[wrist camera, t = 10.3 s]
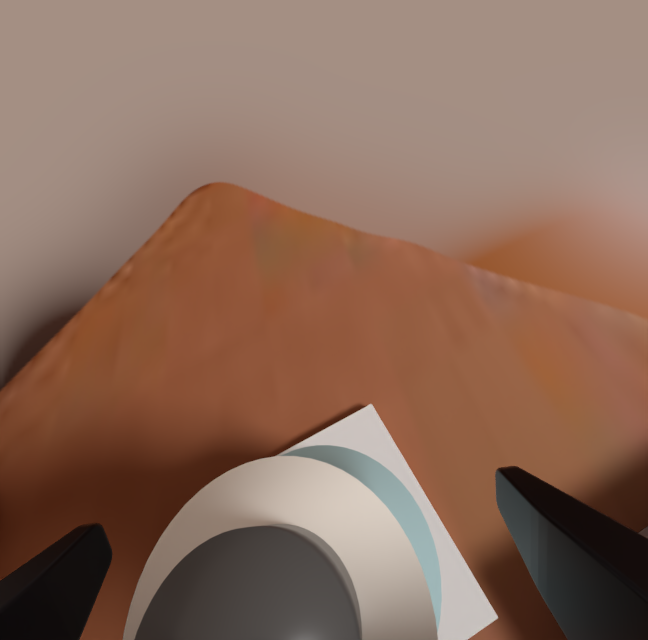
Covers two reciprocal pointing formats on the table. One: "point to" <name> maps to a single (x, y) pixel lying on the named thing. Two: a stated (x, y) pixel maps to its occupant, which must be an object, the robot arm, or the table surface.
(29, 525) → the table surface
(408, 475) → the rest pad
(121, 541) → the table surface
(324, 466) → the capped white bottle
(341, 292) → the table surface
